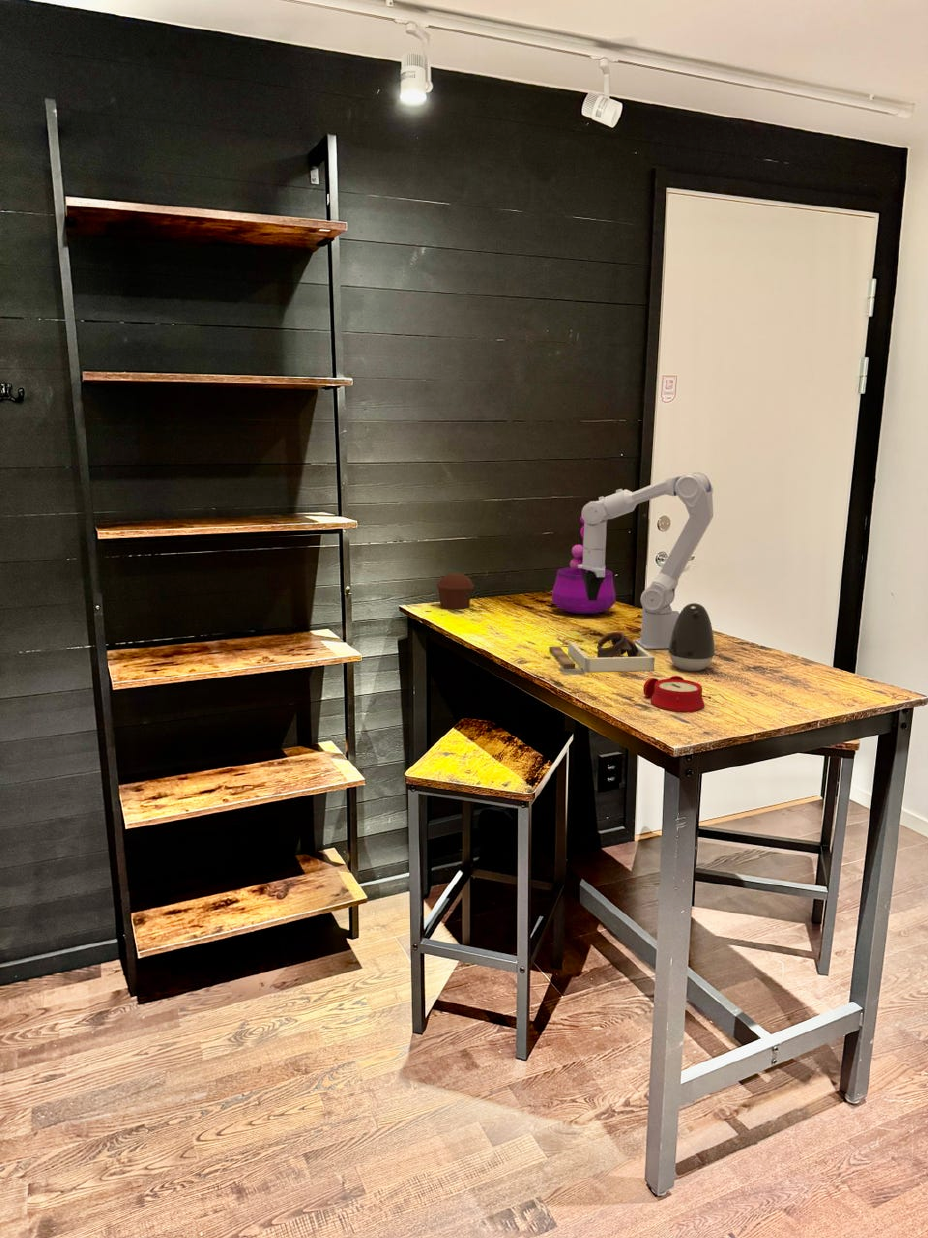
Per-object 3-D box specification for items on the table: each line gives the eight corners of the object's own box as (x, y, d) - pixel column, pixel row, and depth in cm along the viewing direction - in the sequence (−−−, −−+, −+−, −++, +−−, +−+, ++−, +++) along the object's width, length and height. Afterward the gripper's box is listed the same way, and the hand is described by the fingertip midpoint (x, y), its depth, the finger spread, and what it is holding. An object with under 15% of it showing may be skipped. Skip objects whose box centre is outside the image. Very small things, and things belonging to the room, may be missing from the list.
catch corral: (631, 652, 209) (632, 640, 208) (653, 670, 193) (654, 657, 193) (568, 653, 207) (568, 641, 206) (585, 672, 191) (585, 659, 191)
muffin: (428, 607, 259) (428, 574, 256) (450, 601, 267) (451, 570, 265) (459, 612, 252) (459, 579, 249) (481, 606, 260) (482, 574, 258)
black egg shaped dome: (669, 673, 191) (674, 607, 188) (665, 661, 201) (669, 598, 198) (716, 675, 190) (721, 609, 186) (709, 663, 200) (714, 599, 197)
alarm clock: (672, 699, 162) (635, 661, 175) (666, 727, 165) (630, 688, 178) (719, 694, 165) (680, 658, 178) (712, 722, 168) (674, 684, 181)
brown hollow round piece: (644, 670, 195) (630, 641, 192) (606, 684, 198) (592, 656, 195) (641, 645, 206) (627, 617, 203) (604, 659, 209) (590, 632, 206)
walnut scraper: (544, 652, 209) (544, 646, 208) (564, 652, 209) (564, 646, 209) (563, 675, 189) (563, 669, 189) (585, 675, 190) (585, 668, 190)
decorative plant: (549, 605, 263) (553, 507, 256) (610, 606, 262) (615, 508, 256) (553, 618, 245) (557, 514, 238) (618, 620, 244) (624, 515, 237)
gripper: (572, 544, 225) (570, 594, 228) (586, 552, 211) (584, 605, 214) (598, 544, 226) (595, 594, 229) (614, 552, 212) (611, 605, 215)
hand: (592, 600), depth 221 cm, fingers closed
